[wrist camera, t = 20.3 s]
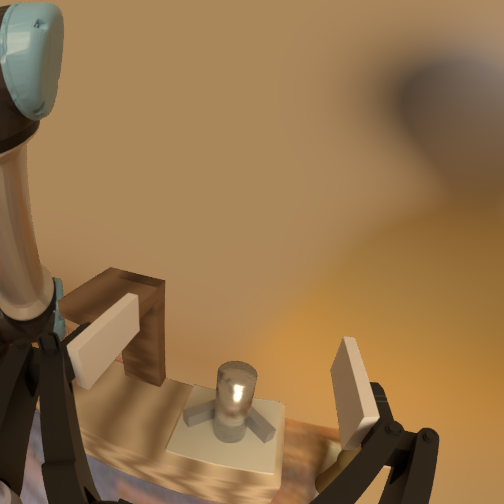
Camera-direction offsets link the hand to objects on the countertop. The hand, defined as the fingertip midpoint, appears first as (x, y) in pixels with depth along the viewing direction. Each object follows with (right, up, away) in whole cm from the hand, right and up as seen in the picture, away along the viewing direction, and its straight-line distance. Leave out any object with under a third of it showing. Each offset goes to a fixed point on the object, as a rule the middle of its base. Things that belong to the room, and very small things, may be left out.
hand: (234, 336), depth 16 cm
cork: (+14, -34, +16) cm, 40 cm away
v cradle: (-2, -20, +16) cm, 26 cm away
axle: (-2, -20, +16) cm, 25 cm away
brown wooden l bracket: (-18, -16, +19) cm, 31 cm away
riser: (-15, -28, +20) cm, 37 cm away
